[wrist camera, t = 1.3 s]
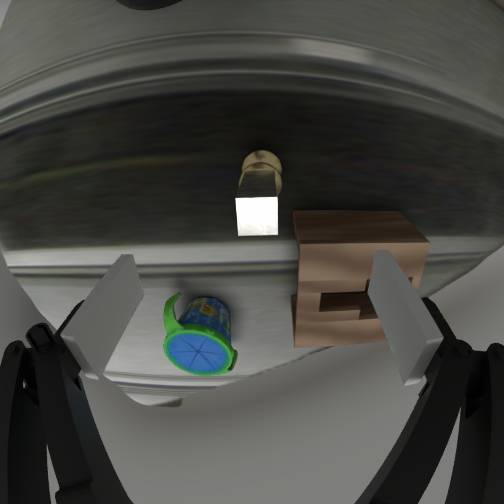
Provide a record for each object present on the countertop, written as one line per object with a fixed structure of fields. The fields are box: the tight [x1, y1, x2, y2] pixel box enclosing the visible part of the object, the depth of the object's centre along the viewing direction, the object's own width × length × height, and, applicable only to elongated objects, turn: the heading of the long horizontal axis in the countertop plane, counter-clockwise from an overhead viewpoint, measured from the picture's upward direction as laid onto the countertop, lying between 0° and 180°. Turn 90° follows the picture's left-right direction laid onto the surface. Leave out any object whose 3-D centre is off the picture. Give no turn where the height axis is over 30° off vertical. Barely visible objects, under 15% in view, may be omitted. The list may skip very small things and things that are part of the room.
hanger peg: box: [236, 150, 282, 235], centre depth 29 cm, size 5×5×17 cm
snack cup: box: [163, 293, 238, 376], centre depth 44 cm, size 16×10×10 cm
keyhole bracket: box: [291, 210, 430, 348], centre depth 38 cm, size 16×16×10 cm
